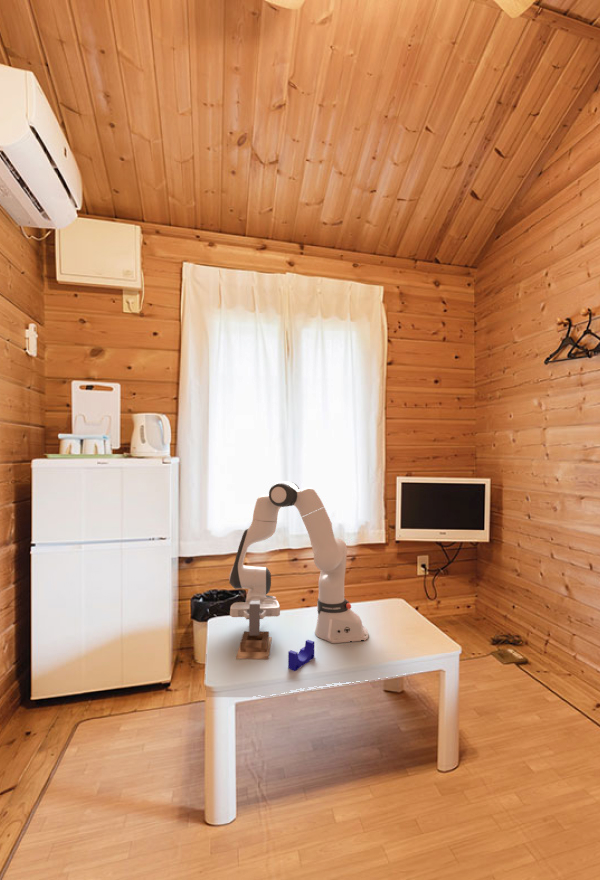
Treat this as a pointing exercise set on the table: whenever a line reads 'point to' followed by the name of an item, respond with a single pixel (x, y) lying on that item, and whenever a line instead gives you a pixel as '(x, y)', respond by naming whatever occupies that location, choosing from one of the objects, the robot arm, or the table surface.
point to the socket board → (254, 654)
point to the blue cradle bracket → (301, 656)
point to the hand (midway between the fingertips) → (254, 617)
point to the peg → (254, 618)
